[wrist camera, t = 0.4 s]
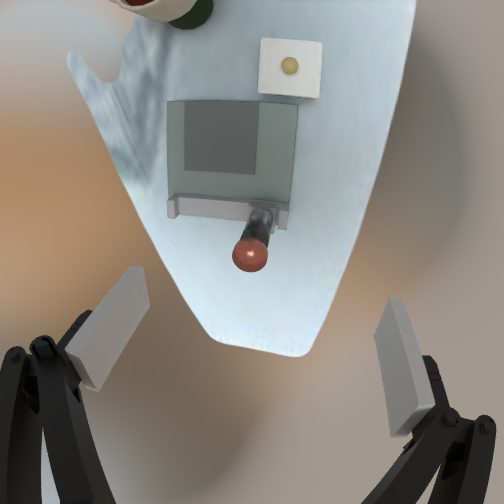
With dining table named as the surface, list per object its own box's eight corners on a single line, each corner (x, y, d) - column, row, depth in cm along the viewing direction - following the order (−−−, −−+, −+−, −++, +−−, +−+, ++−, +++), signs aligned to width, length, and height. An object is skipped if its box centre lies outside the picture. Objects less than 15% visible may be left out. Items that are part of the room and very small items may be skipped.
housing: (267, 48, 30) (258, 34, 22) (318, 53, 29) (324, 39, 22) (265, 94, 33) (255, 92, 25) (315, 99, 32) (320, 98, 25)
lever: (250, 200, 36) (232, 239, 27) (277, 203, 36) (268, 243, 27) (249, 225, 38) (231, 269, 28) (274, 227, 37) (265, 274, 28)
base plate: (171, 101, 34) (156, 102, 30) (297, 105, 33) (297, 105, 29) (173, 205, 41) (160, 217, 38) (287, 216, 40) (286, 230, 36)
